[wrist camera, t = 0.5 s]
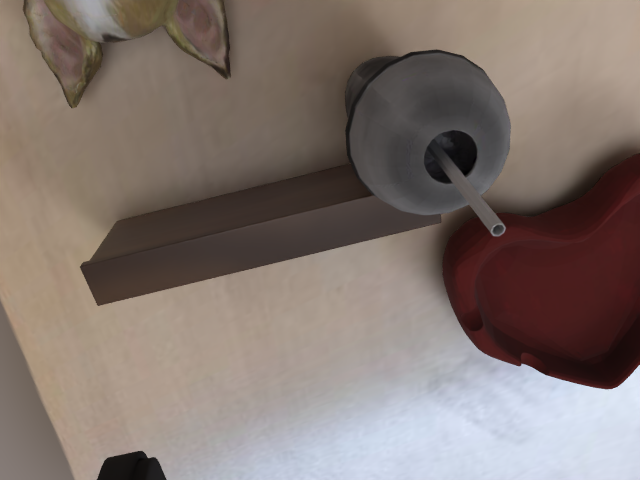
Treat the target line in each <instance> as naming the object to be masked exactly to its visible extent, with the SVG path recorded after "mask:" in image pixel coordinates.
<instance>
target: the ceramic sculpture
mask: <svg viewBox="0 0 640 480" xmlns="http://www.w3.org/2000/svg"><path fill="white" fill-rule="evenodd" d="M23 11H24V14H25V16H26V18H27V20H28V24H29V27H30V37H31V39H32V40H33V42H34V43H35V46H36V48H37V49H39V50H40V51H41V52H42V57H43V58H44V60H45V61H46V63H47V64H48V66H49V68H50V69H51V70H52V72H53V73H54V75H55V76H56V78H57V79H58V81H59V83H60V84H61V86H62V89H63V92H64V95H65V97H66V99H67V102H68V104H69V106H70V107H71V108H75V107H77V105H78V104H79V102H80V100H81V97H82V95H83V92H84V90H85V88H86V87H87V85H88V84H89V82H90V81H91V80H92V78H93V77H94V75H95V74H96V72H97V71H98V70H99V68H100V67H101V63H102V57H103V53H102V48H101V45H100V43H99V42H120V41H126V40H131V39H135V38H139V37H142V36H144V35H147V34H149V33H151V32H152V31H153V30H154V29H156V28H158V27H159V26H161V25H162V26H165V27H166V30H167V32H168V34H169V36H170V37H171V38H172V40H173V41H174V42H175V43H176V45H177V46H178V47H179V48H180V49H182V50H183V51H184V52H186V53H188V54H190V55H191V56H193V57H195V58H197V59H198V60H200V61H202V62H204V63H206V64H208V65H210V66H211V67H213V68H214V69H215V70H216V71H217V72H218V73H219V74H220V75H222V76H223V77H224V78H225V79H230V77H231V74H230V62H229V50H230V44H229V34H228V28H227V19H226V14H225V9H224V2H223V0H24V6H23Z"/></svg>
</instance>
